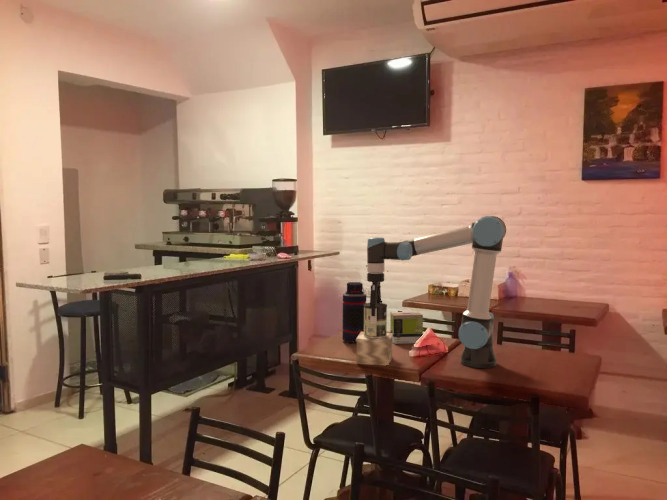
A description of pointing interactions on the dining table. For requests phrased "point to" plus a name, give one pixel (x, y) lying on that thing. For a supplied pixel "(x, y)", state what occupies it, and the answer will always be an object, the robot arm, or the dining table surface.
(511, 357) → the dining table surface
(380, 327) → the coffee can
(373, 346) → the birch box
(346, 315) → the red-striped thermos flask
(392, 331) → the tea box
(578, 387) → the dining table surface
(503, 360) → the dining table surface
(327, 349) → the dining table surface
